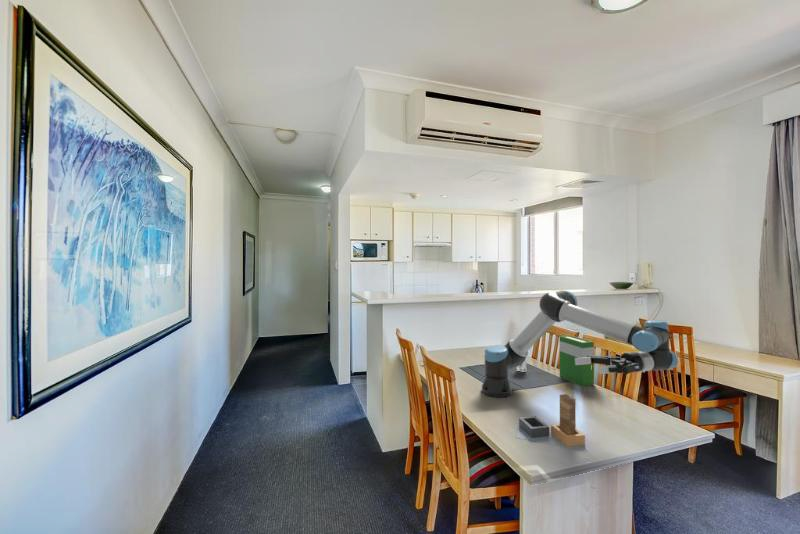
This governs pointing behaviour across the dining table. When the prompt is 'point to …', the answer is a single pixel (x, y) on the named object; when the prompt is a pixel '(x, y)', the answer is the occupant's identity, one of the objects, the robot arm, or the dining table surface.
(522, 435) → the board
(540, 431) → the grey open box
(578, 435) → the orange open box
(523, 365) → the beer glass
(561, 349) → the hardback book
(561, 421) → the oak slat
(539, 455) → the dining table surface
